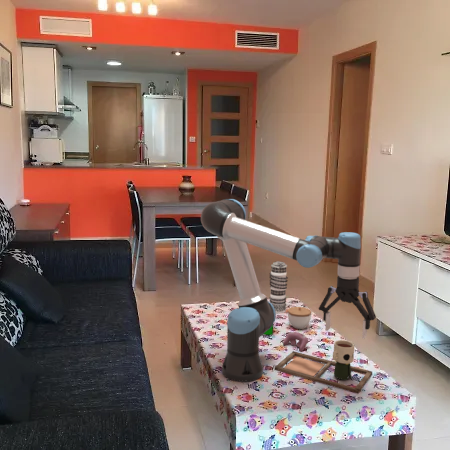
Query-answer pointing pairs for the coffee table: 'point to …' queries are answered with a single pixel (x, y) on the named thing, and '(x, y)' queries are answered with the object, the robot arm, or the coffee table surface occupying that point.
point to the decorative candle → (278, 286)
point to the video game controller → (296, 336)
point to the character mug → (343, 358)
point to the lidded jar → (299, 317)
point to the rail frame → (311, 368)
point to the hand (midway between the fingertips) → (345, 333)
